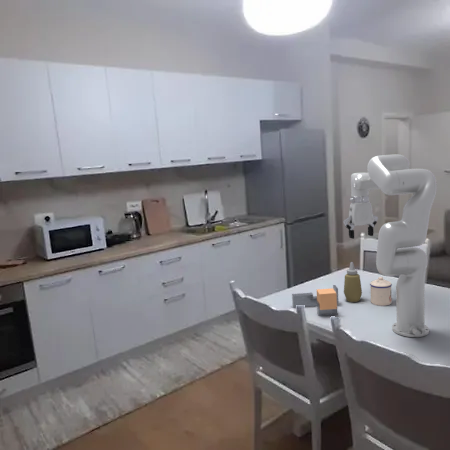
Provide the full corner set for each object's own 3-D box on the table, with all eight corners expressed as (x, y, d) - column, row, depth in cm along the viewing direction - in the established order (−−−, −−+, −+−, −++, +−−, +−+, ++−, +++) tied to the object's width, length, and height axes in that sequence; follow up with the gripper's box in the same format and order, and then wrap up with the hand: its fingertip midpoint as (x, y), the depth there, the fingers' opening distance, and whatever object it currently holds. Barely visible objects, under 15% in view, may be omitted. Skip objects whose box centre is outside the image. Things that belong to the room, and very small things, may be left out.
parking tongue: (337, 314, 175) (337, 301, 174) (318, 315, 175) (318, 303, 175) (335, 311, 178) (335, 299, 177) (317, 312, 178) (316, 300, 178)
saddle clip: (337, 308, 173) (336, 293, 172) (320, 310, 173) (319, 294, 172) (333, 303, 179) (332, 288, 178) (317, 304, 180) (316, 289, 179)
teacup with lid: (395, 305, 180) (394, 279, 178) (373, 306, 180) (372, 281, 179) (386, 296, 191) (386, 272, 190) (366, 297, 192) (365, 273, 190)
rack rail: (338, 305, 185) (337, 288, 184) (293, 308, 186) (292, 291, 184) (333, 298, 194) (332, 282, 193) (290, 301, 195) (290, 285, 194)
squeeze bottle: (365, 299, 190) (364, 261, 188) (357, 304, 185) (356, 265, 182) (348, 296, 196) (347, 259, 193) (340, 301, 190) (339, 263, 187)
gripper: (347, 202, 182) (348, 240, 185) (382, 198, 186) (382, 236, 189) (338, 201, 189) (340, 237, 192) (372, 197, 193) (373, 233, 196)
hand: (361, 236), depth 190 cm, fingers open, 9 cm apart
